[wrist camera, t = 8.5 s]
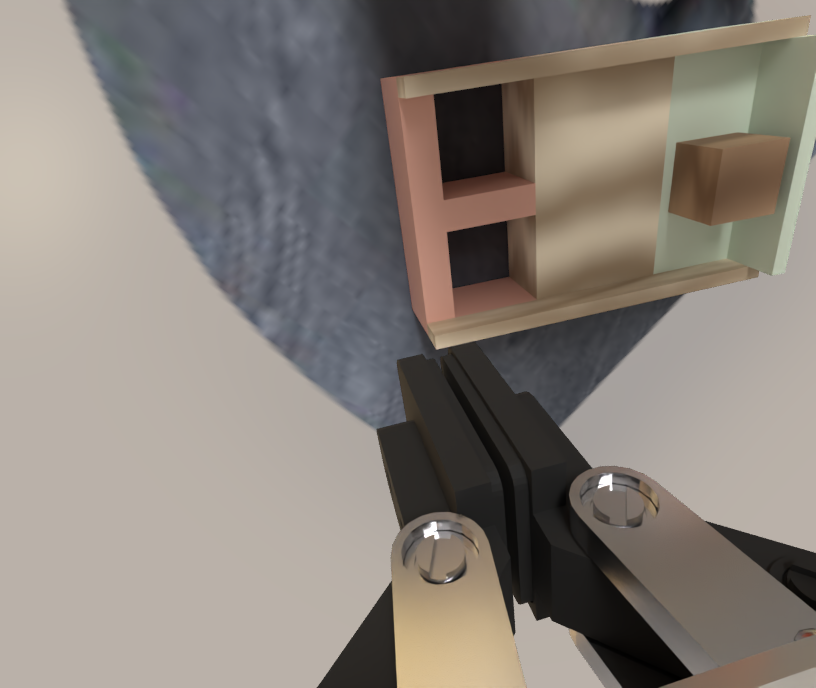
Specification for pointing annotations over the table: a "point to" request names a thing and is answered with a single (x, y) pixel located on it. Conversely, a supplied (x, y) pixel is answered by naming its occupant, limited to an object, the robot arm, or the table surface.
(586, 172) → the box
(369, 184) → the table surface
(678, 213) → the walnut block
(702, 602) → the robot arm
